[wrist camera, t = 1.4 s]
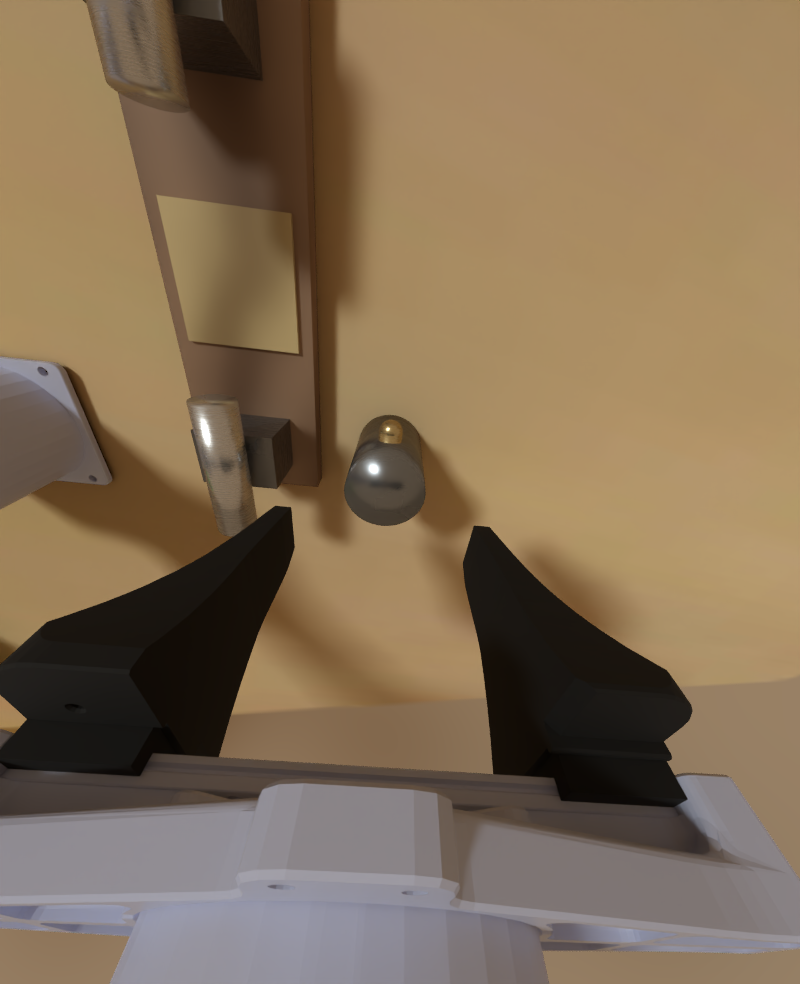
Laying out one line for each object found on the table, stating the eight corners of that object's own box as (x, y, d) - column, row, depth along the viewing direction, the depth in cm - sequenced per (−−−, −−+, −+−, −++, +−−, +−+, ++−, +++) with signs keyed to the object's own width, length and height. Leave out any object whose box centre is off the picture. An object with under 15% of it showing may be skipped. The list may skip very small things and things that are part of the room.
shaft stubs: (234, 484, 21) (191, 532, 17) (97, -213, 9) (-185, -681, 5) (295, 490, 21) (268, 539, 17) (241, -185, 9) (98, -608, 5)
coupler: (357, 481, 22) (343, 536, 17) (361, 395, 19) (345, 431, 14) (413, 486, 22) (416, 543, 17) (427, 402, 19) (434, 441, 14)
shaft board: (219, 467, 22) (208, 477, 20) (86, -139, 10) (44, -197, 9) (321, 478, 22) (316, 488, 21) (306, -99, 10) (293, -151, 9)
